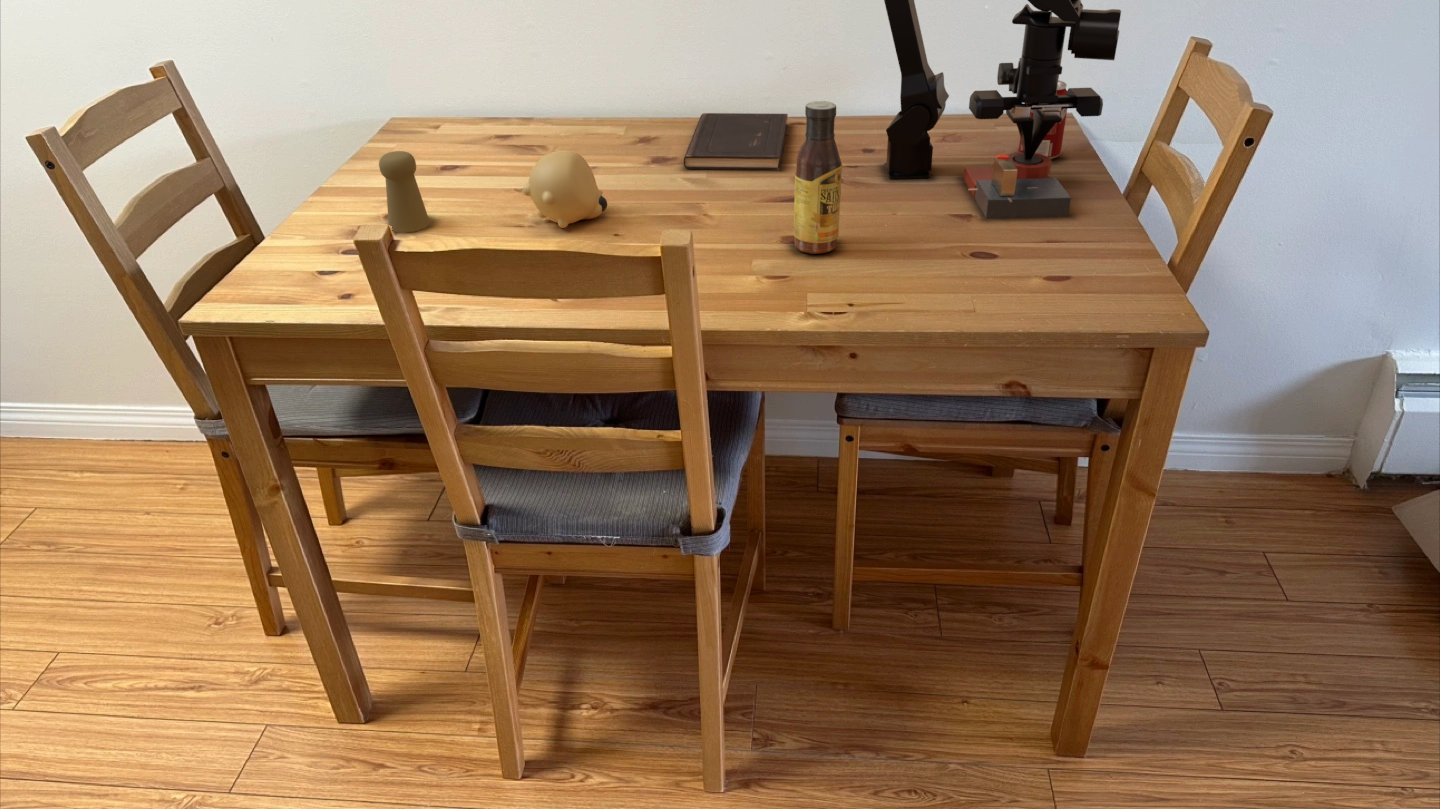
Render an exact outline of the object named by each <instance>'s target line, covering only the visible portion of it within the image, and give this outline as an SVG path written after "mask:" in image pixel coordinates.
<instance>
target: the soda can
mask: <svg viewBox="0 0 1440 809" xmlns="http://www.w3.org/2000/svg"><path fill="white" fill-rule="evenodd" d="M1067 87H1068V84H1067V83H1066V82H1065V81H1063V80H1059V79H1058V86H1057V93H1056V94H1057V95H1058V96H1061V95H1066V92H1067V90H1068V89H1067ZM1024 104H1026V103H1024ZM1067 113H1068V108H1066V109H1061V112H1060V116H1061V118H1062V122H1060V123H1055V125H1054V126H1053V127H1052V128H1051V130H1050V131H1049V132H1048V134H1047V135H1046V136H1045V138H1044V139H1043V141H1042V142H1041V144H1040V146H1039V147H1038V149H1037V150H1036V152H1035V153H1038V154H1042V155H1044V156H1047V157H1049V158H1050V160H1051V161H1052V160H1054V159H1056V158H1058V157H1059V156H1060V155H1061V153H1062V146H1063V140H1064V134H1065V127H1066V120H1067ZM1030 116H1031V118H1032V119H1033V109H1031V112H1030ZM1018 144H1019V145H1018V152H1023V148H1022V143H1021V138H1020V137H1019V142H1018Z"/></svg>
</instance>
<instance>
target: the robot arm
mask: <svg viewBox="0 0 1440 809" xmlns="http://www.w3.org/2000/svg"><path fill="white" fill-rule="evenodd" d="M883 1H884V6H885V10H886V15H887V19H888V23H889V28H890V31H891V35H892V41H893V45H894V49H895V53H896V58H897V62H898V66H899V71H900V110H899V111H898V112H897V114H896V115H895V117H894V118H893V119H892V121H891V122H890V124H889V125H888V126H887V128H886V130H885V131H886V135H887V146H886V147H887V148H886V161H885V163H883V165H884V166H883V167H884V169H885V172H886V175H887V177H888V179H889V180H913V179H914V180H915V179H919V180H920V179H930V177H931V176H930V175H931V174H930V171H932V166H933V165H932V164H933V153H934V146H933V144H932V142H931V136H930V134H929V131H931V130H932V129H933V128H934V127H935V126H936V125H937V123H938V122H939V120H940V119H941V116H942V115H943V113H944V111H945V109H946V104H947V103H946V102H947V100H948V99H949V97H950V95H949V93H948V92H947V90H946V87H945V75H944V72H943V71H942V72H939V73H937V74H935V73H934V72H933V69H932V67H930V65H929V62H928V57H927V52H926V48H925V43H924V38H923V34H922V30H921V26H920V21H919V16H918V12H917V7H916V4H915V0H883ZM1027 1H1028V2H1029V4H1031V5H1032V7H1034V8H1035V9H1037V10H1034V9H1033V8H1031V7H1030V6H1031V5H1029V4H1028V3H1026V4H1024V6H1023V8H1021V10H1019V12H1017V13H1016V14H1014V16H1013V17H1012V19H1011V23H1012V24H1013V25H1023V26H1024V25H1025V26H1024V33H1023V42H1022V51H1021V57H1019V60H1018V64H1017V67H1015V68H1014V63H1013V62H1001V63H998V67H997V77H996V78H997V79H996V80H997V81H996V82H997V85H998V86H1007V85H1008V92H1011V93H1012V94H1014V95H1016V96H1002V94H1000V93H999V91H998V90H997V89H991V90H989V89H988V90H986V89H985V90H974V91H973V92H972V93H971V94H970V96H969V102H968V109H969V111H970V112H971V114H972V115H973V116H974V118H975V119H976V120H977V119H978V120H998V119H999V118H1001V117H1002V116H1003V114H1004V111H1005V114H1006V115H1007V117H1008V118H1009V119H1010V121H1011V122H1012V123H1013V124H1016V127H1017V130H1018V133H1019V139H1020V138H1021V143H1022V148H1023V153H1024V157H1025V159H1032V157H1033V155H1034V154H1035V152H1036V150H1037V149H1038V147H1039V146H1040V144H1041V142H1042V141H1043V139H1044V138H1045V136H1046V135H1047V134H1048V132H1049V131H1050V130H1051V128H1052V127H1053V126H1054V125H1055V123H1060V122H1062V118H1061V116H1060V112H1061V109H1066V108H1067V109H1075V111H1076V113H1077V114H1078V115H1079V116H1080V117H1100V116H1102V113H1103V107H1104V101H1103V100H1104V99H1103V98H1102V96H1101V95H1099V94H1098V92H1096V91H1095V90H1094V89H1093V88H1092V87H1069V88H1067V89H1066V90H1067V92H1066V95H1061V96H1058V95H1057V94H1056V93H1057V86H1058V80H1059V79H1060V75H1062V73H1063V66H1062V65H1061V64H1062V58H1063V52H1064V43H1065V39H1066V38H1065V37H1066V31H1067V28H1070V30H1069V36H1068V40H1067V41H1068V42H1067V51H1070V54H1071V55H1074V59H1083V60H1099V61H1115V60H1116V52H1117V46H1118V41H1119V36H1120V30H1119V28H1120V22H1121V15H1122V9H1116V8H1112V9H1111V8H1110V9H1088V8H1087V9H1085V8H1084V5H1083V3H1082V0H1027ZM1053 15H1055V16H1053ZM1025 103H1026V104H1025ZM1031 109H1033V119H1032V118H1031V116H1030V112H1031Z"/></svg>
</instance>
